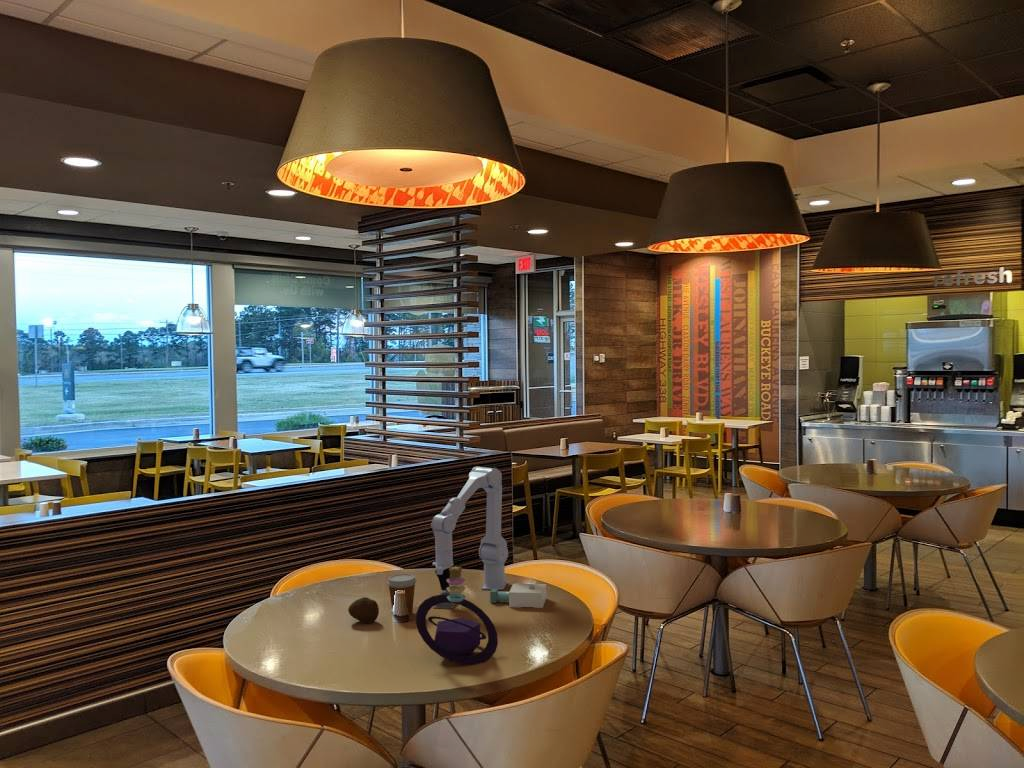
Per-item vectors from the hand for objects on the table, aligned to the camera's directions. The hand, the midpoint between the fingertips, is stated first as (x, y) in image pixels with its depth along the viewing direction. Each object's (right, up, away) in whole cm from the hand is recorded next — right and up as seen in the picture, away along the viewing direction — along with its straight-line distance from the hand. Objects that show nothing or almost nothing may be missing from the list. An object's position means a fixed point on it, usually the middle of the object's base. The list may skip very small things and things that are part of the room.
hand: (445, 589), depth 268 cm
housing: (+27, -4, 0) cm, 28 cm away
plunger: (0, -4, 0) cm, 4 cm away
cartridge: (+23, -4, +1) cm, 23 cm away
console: (+1, -5, +4) cm, 6 cm away
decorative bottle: (+7, -7, -44) cm, 45 cm away
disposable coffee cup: (-13, -6, -8) cm, 16 cm away
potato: (-25, -7, -15) cm, 30 cm away
